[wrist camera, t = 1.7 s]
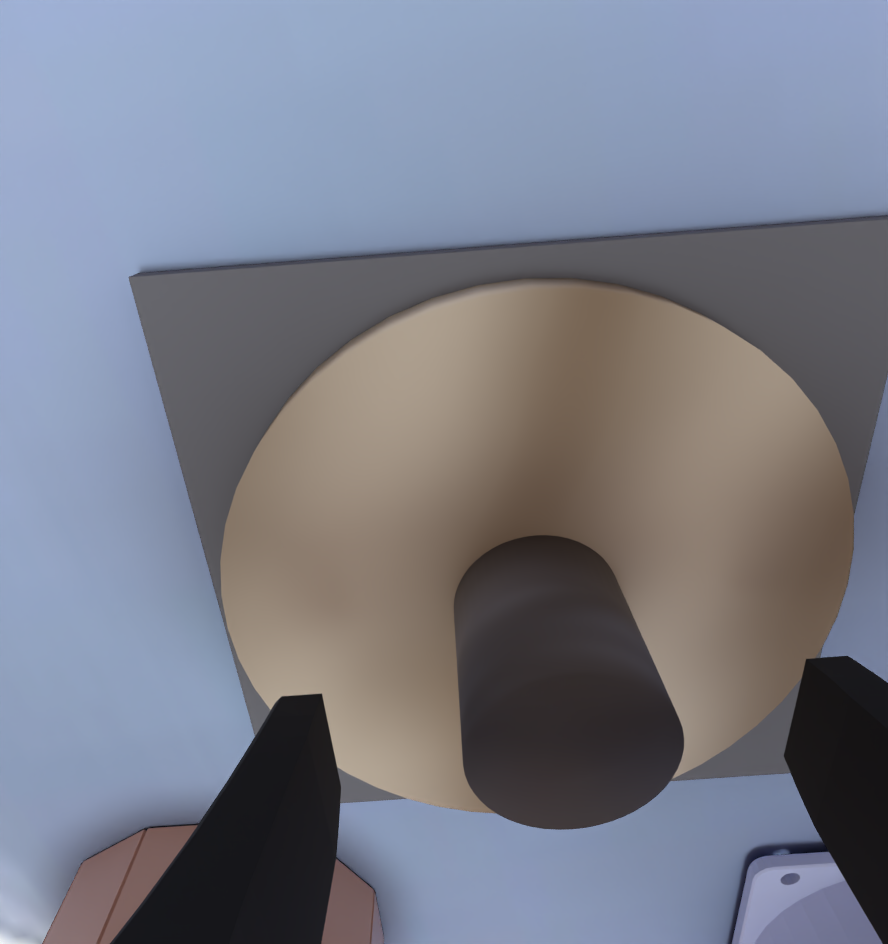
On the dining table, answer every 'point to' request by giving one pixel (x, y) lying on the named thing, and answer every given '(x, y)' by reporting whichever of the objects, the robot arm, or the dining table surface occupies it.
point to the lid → (538, 548)
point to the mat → (445, 271)
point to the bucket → (143, 863)
